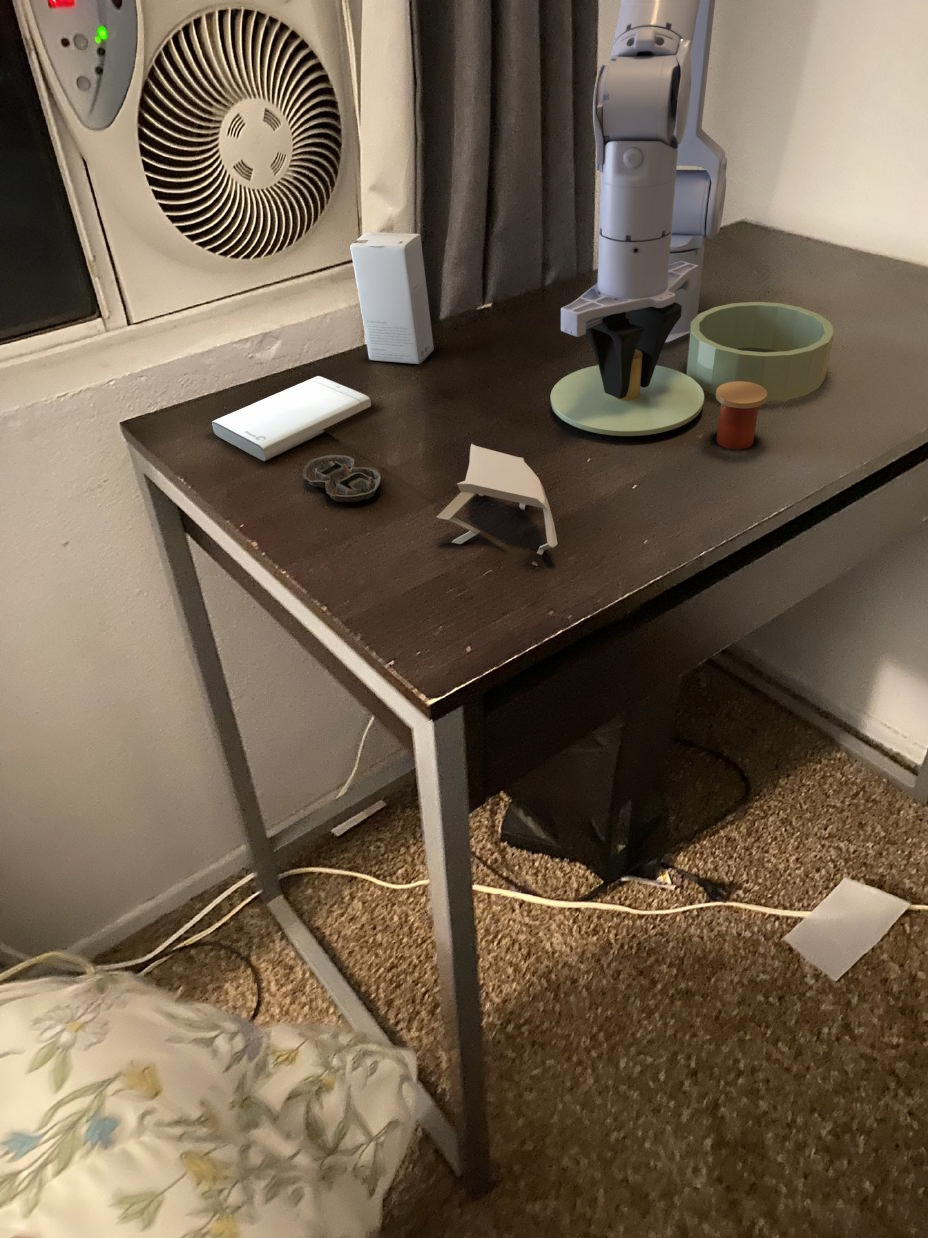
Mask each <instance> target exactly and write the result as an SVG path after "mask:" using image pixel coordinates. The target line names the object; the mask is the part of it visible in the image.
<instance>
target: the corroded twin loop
mask: <svg viewBox="0 0 928 1238" xmlns="http://www.w3.org/2000/svg"><path fill="white" fill-rule="evenodd" d="M333 469H334V470H333ZM381 476H382V474H381V473H380V472H379V470H378V469H377V468H376V467H372V466H356V467H355V458H354V457H351V456H349V455H346V454H345V455H342V454H328V455H323V456H318V457H314V458H312V459H309V460H308V461H307V462H306V464H305V465H304V467H303V468H302V478H303V479H305V480H307V481H308V484H309V485H311V487H313V488H321V489H325V491H326V494H328V495H329V497H330V499H332V500H333V501H335V502H337V503H339V502H340V503H341V502H342V503H343V502H344V503H354V502H360V501H363V500H370V499H371V498H372V497H374V496H375V493H376V490H377V488H379V486H380V483H381ZM346 485H348V486H349V487H350V488H349V487H347V486H346Z"/></svg>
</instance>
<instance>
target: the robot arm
mask: <svg viewBox="0 0 928 1238" xmlns="http://www.w3.org/2000/svg"><path fill="white" fill-rule="evenodd" d="M715 7H716V0H620V5H619V11H618V15H617V21H616V27H615V32H614V37H613V43H612V49H611V53H610V58H609V64H608V65H607V64H606V65H605V64H601V65H600V66H599V68H598V71H597V74H596V78H595V83H594V89H593V99H592V121H593V134H594V140H595V165H596V171H598V172H600V181H599V182H600V185H599V187H600V188H599V213H598V214H599V218H598V252H597V253H598V254H597V258H598V259H597V282H596V283H595V284H593V286H591V287H590V288H589V289H588V290H586V291H585V292H584V293H582V294H581V295H580V296H579V297H578V298H577V299H575V300H573V301H572V302H571V303H569V304H567V305H565V306H562V307H561V308H560V331H561V332H563V333H565V334H567V335H571V336H573V337H576V338H579V337H581V336H585V337H586V338H587V340H588V342H589V344H590V346H591V348H592V351H593V353H594V356H595V359H596V362H597V365H598V366H599V369H600V373H601V378H602V382H603V387H604V391H605V393H607V394H609V395H612V396H614V397H616V398H619V399H622V398H624V397H626V395H627V392H628V388H629V383H630V374H631V366H632V360H633V356H634V353H635V349H636V350H639V351H641V352H642V354H643V357H642V372H641V387H643V388H645V387H647V386H649V384H650V381H651V378H652V375H653V372H654V369H655V366H656V365H657V363H658V360H659V357H660V355H661V352H662V350H663V348H664V345H665V344H666V343H670V342H672V341H674V340H677V339H680V338H681V337H684V336H686V335H688V334H690V325H691V322H692V321H693V320H694V319H695V318H696V317H697V315H698V314H699V304H700V296H701V295H700V294H701V288H702V287H701V286H702V285H701V284H702V275H703V267H704V266H703V265H704V257H705V246H706V245H705V244H706V242H707V240H708V241H709V240H713V239H714V238H715V237H716V236H717V235H719V233H720V229H721V225H722V220H723V214H724V208H725V201H726V189H727V169H728V168H727V167H728V158H727V156H726V152H725V150H724V149H723V147H722V146H721V145H720V144H719V143H717V142H716V141H715V140H714V139H713V138H712V137H711V136H709V135H708V133H706V131H704V129H703V119H704V110H705V101H706V92H707V91H706V90H707V80H708V73H709V71H708V70H709V63H710V54H711V53H710V52H711V45H712V44H711V43H712V36H713V34H712V33H713V24H714V18H715V17H714V16H715ZM679 166H682V167H699V168H702V169H677V167H679Z"/></svg>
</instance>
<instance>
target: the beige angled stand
mask: <svg viewBox="0 0 928 1238" xmlns="http://www.w3.org/2000/svg"><path fill="white" fill-rule="evenodd" d="M456 486H457V487H458V489H459V491H460V492H459V493H458V494H457V495H456V496H455V497H454V498H453V500H451V502H449V503H448V504H447V505H446V506H445V508H444V509H442V510H441V511H440V512H439V514H438V515H436V517H435V518H436V519H439V520H441V521H444V522H446V523H449V524H451V525H454V526H456V527H459V528H462V529H464V530H467V532H466V533H464V534H462V535H460V536H458V537H456V538H455V539H453V540H451V543H453V544H457V545H461V544H464V543H465V542H467V541H468V540H471V539H472V538H473V537H476V536H477V535H478V534H479V533H480V532H481V530H479V529H478V528H476V527H474V526H472V525H470V524H468V523H467V522H465V521H463V520H461V519H459V518H457V517H455V516H456V515H458V513H459V512H461V510H462V509H463V508H464V507H466V505H467V504H468V503H469V502H470V501H471V500H473V499H474V498H475V496H477V495H478V496H479V497H484V496H488V497H491V498H496V499H500V500H503V501H509V502H513V503H514V502H515V503H516V504H517V503H518V504H519V509H520V510H522V511H526V510H525V509H526V506H532V507H536V508H540V509H542V511H543V519H544V526H545V535H546V543H545V544H542V545H540V546H539V547H538V550H537V552H536V554H538V555H541V556H543V554H544V553H545V551H546V550H547V551H548V550H550V549H553V548H555V547H557V545H558V539H557V533H556V526H555V522H554V519H553V515H552V510H551V508H550V507H551V506H550V504H549V501H548V497H547V495H546V492H545V488H544V486H543V484H542V482H541V480H540V478H539V477H538V476H537V474H536V473H535V472H534V471H533V469H532V468H531V467H529V465H528V464H527V463H526V462H525V458H524V457H521V456H520V457H519V456H515V455H511V454H507V453H504V452H500V451H496V450H493V449H490V448H485V447H481V446H477V445H475V444H474V443H471V444H470V449H469V463H468V468H467V471H466V476H465V479H464V480H463V481H460V482H457V483H456ZM531 564H532V565H534V566H536V567H537V566H539V563H538V562H536V561H534V560H532V562H531Z"/></svg>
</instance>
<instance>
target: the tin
mask: <svg viewBox="0 0 928 1238" xmlns="http://www.w3.org/2000/svg"><path fill="white" fill-rule="evenodd" d="M834 337H835V330H834V327H833V324H832V322H831V321H829V320H828V319H827V318H825V317H824V316H823V315H821V314H819V313H817V312H814V311H811V310H809V309H806V308H804V307H801V306H795V305H792V304H791V305H790V304H785V303H780V302H765V301H750V302H734V303H728V304H722V305H719V306H714V307H711V308H709V309H707V310H705V311H703V312H699V313H698V315H697V317H696V318H695V319H694V320H693V321H692V322H691V325H690V333H689V338H688V347H687V355H686V357H687V358H686V373H685V375H687V376H689V377H691V378H692V379H693V380H695V381H696V382H697V383H698V384H699V385H700V387H701V388H702V390H703V391H704V392H707V393H708V394H711V395H715V396H716V390H717V388H718V387H719V386H721V385H722V384H725V383H728V382H735V381H743V382H751V383H755V384H758V385H760V386H762V387H763V388H765V389H766V391H767V399H766V401H765V403H766V402H767V403H768V402H784V401H789V400H792V399H797V398H801V397H805V396H807V395H809V394H810V393H813V392H814V391H816V390H818V389H819V388H820V387H821V386H822V384H823V383H824V381H825V380H826V377H827V371H828V366H829V363H830V361H829V360H830V356H831V352H832V347H833V342H834ZM742 349H761V350H773V351H765V352H764V351H763V352H762V351H752V350H742Z"/></svg>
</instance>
